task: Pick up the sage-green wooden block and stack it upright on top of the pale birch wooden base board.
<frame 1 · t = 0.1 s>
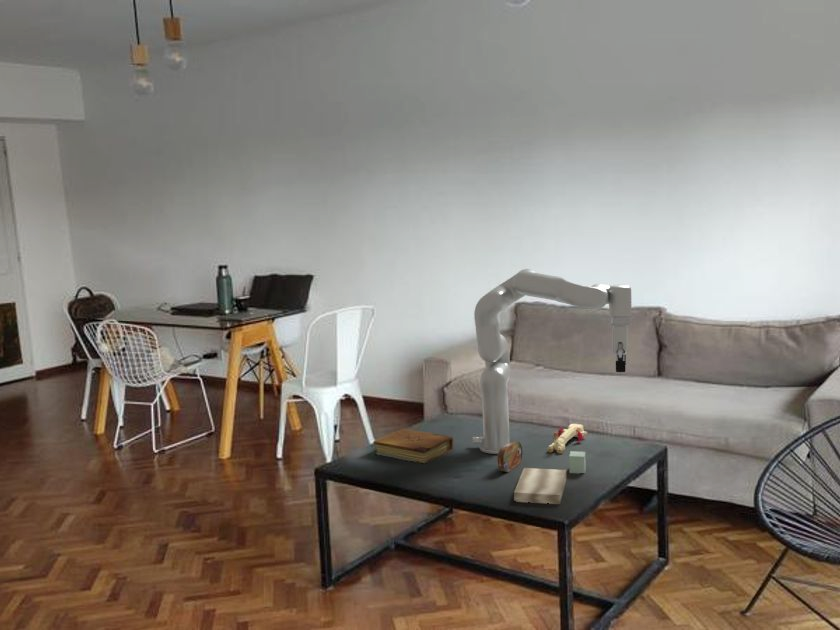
hand: (620, 368, 286), 31 cm above the table, tool pointing down, fingers open, 9 cm apart
cream elongated piece: (567, 444, 306), on the table
diary: (414, 453, 304), on the table
tin: (510, 468, 283), on the table
base block: (541, 489, 261), on the table
block: (577, 470, 277), on the table
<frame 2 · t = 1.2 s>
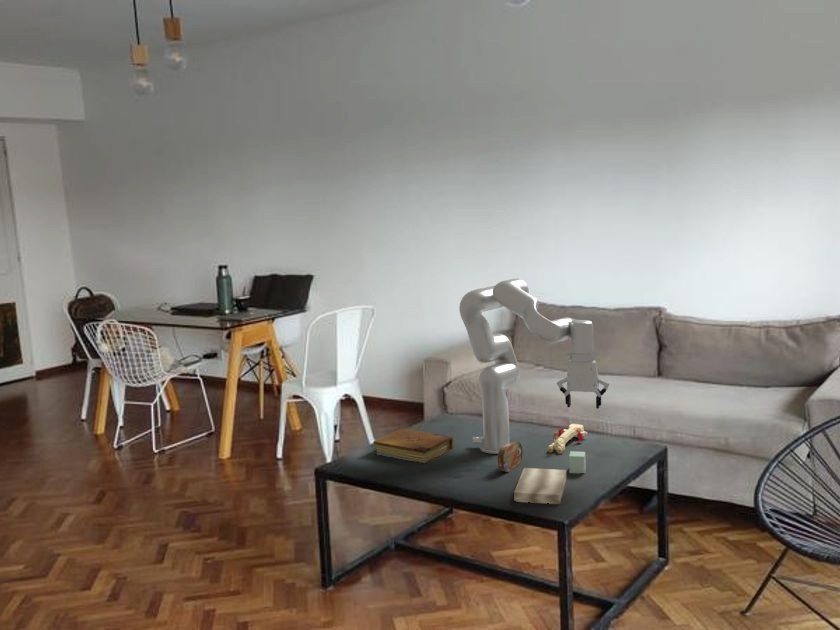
hand: (583, 407, 275), 22 cm above the table, tool pointing down, fingers open, 9 cm apart
nothing on the table moved.
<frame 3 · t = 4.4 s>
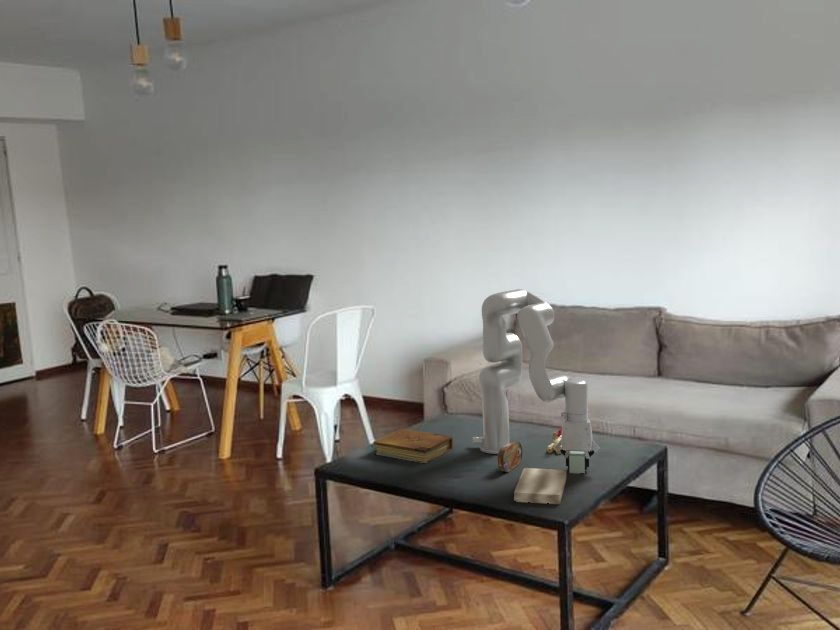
hand: (577, 467, 276), 1 cm above the table, tool pointing down, fingers closed on block, 5 cm apart
block: (577, 470, 277), on the table, touching gripper
everything else where it was.
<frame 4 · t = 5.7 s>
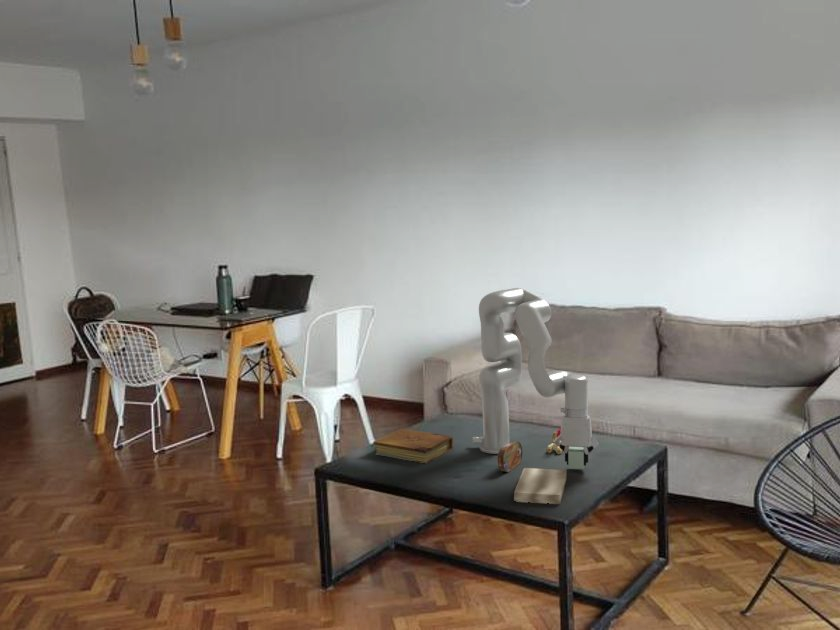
hand: (576, 463, 276), 2 cm above the table, tool pointing down, fingers closed on block, 5 cm apart
block: (576, 466, 277), point 1 cm above the table, touching gripper
everything else where it was.
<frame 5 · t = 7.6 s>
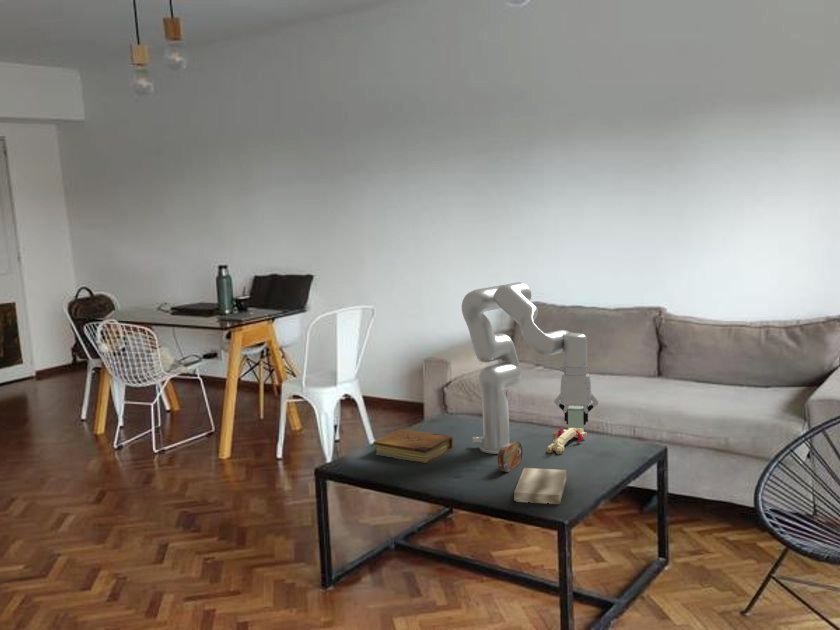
hand: (576, 422, 274), 17 cm above the table, tool pointing down, fingers closed on block, 5 cm apart
block: (576, 425, 274), point 16 cm above the table, touching gripper
everything else where it was.
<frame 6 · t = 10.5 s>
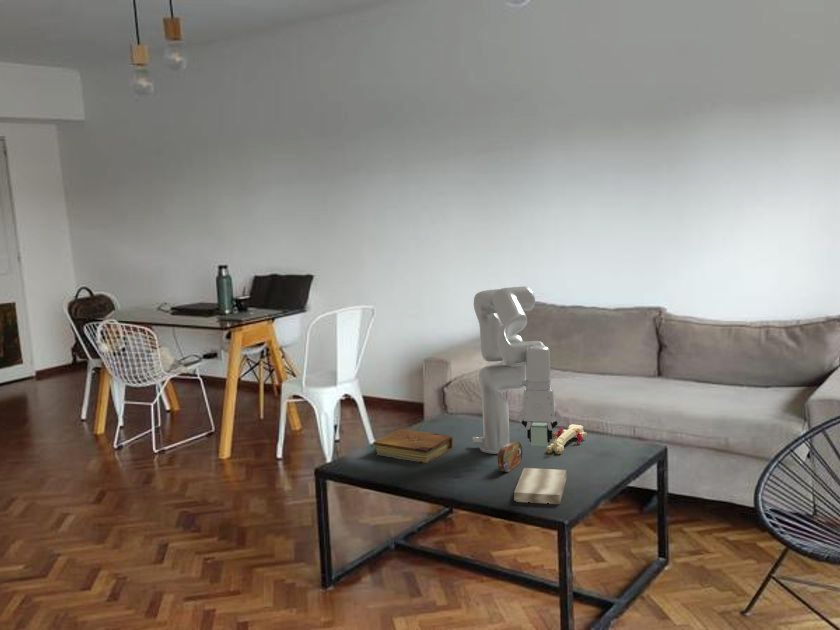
hand: (540, 440, 258), 16 cm above the table, tool pointing down, fingers closed on block, 5 cm apart
block: (540, 443, 259), point 15 cm above the table, touching gripper
everything else where it was.
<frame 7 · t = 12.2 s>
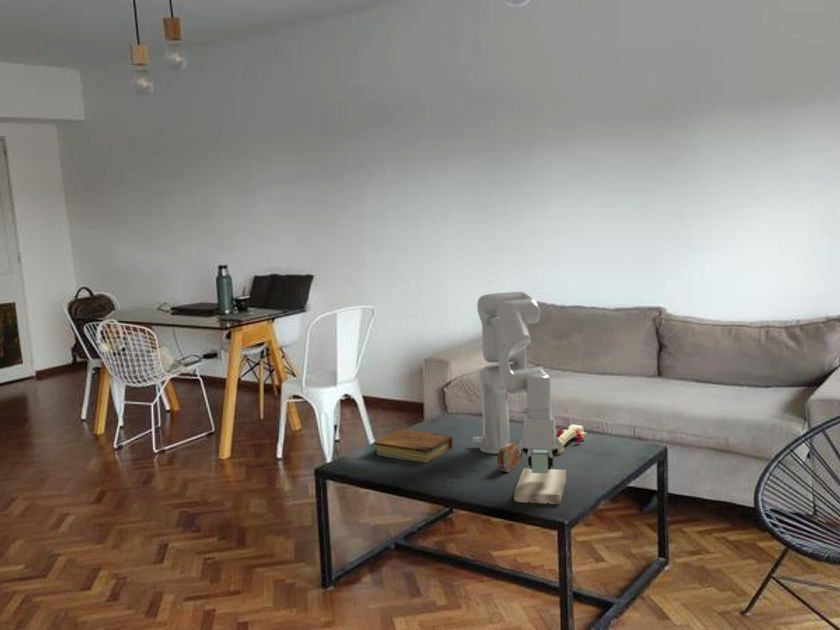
hand: (540, 467, 260), 7 cm above the table, tool pointing down, fingers closed on block, 5 cm apart
block: (540, 470, 260), point 6 cm above the table, touching gripper
when the fingers open (5 cm above the table, at t = 13.6 s): block drops 1 cm, resting on base block.
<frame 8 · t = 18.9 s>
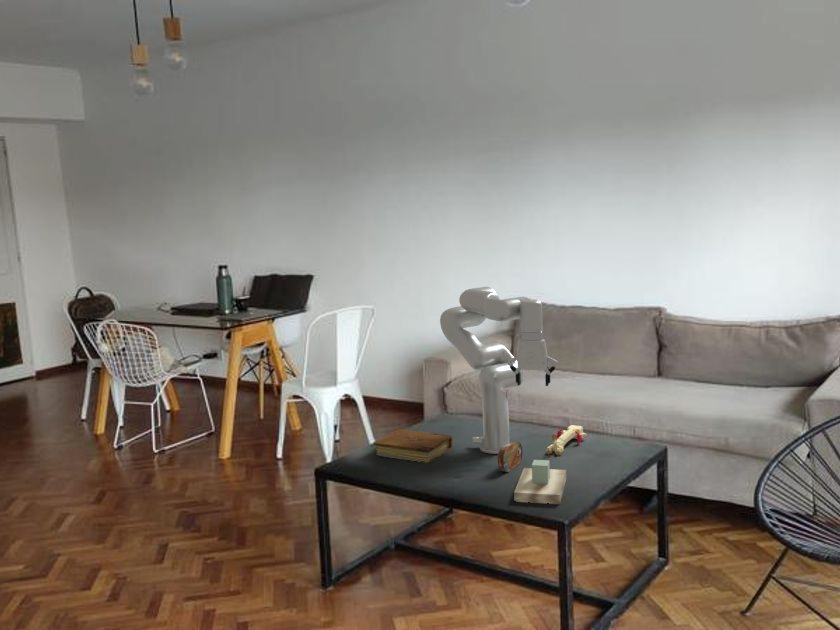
hand: (533, 384, 281), 28 cm above the table, tool pointing down, fingers open, 9 cm apart
block: (541, 480, 261), point 3 cm above the table, touching base block
at the end: block inside the target area on the base block (0.1 cm from its centre), point 3.0 cm above the base block's base; block tilted 0°; block touching base block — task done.
